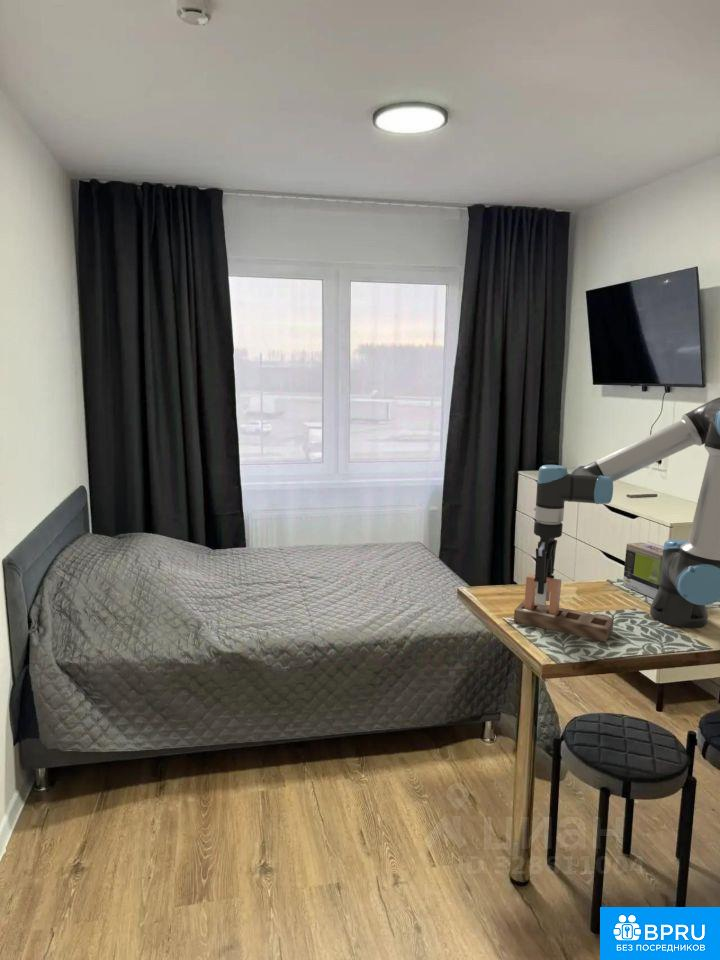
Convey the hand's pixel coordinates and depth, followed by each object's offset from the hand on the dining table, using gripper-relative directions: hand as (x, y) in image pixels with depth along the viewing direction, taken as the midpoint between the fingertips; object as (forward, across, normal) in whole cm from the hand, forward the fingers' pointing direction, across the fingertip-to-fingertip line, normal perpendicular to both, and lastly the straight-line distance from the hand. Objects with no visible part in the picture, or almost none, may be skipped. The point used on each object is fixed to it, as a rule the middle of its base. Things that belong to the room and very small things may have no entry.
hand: (542, 601), depth 187 cm
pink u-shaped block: (+3, 0, 0) cm, 3 cm away
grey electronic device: (+6, -45, +23) cm, 51 cm away
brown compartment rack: (+6, 0, +6) cm, 8 cm away
